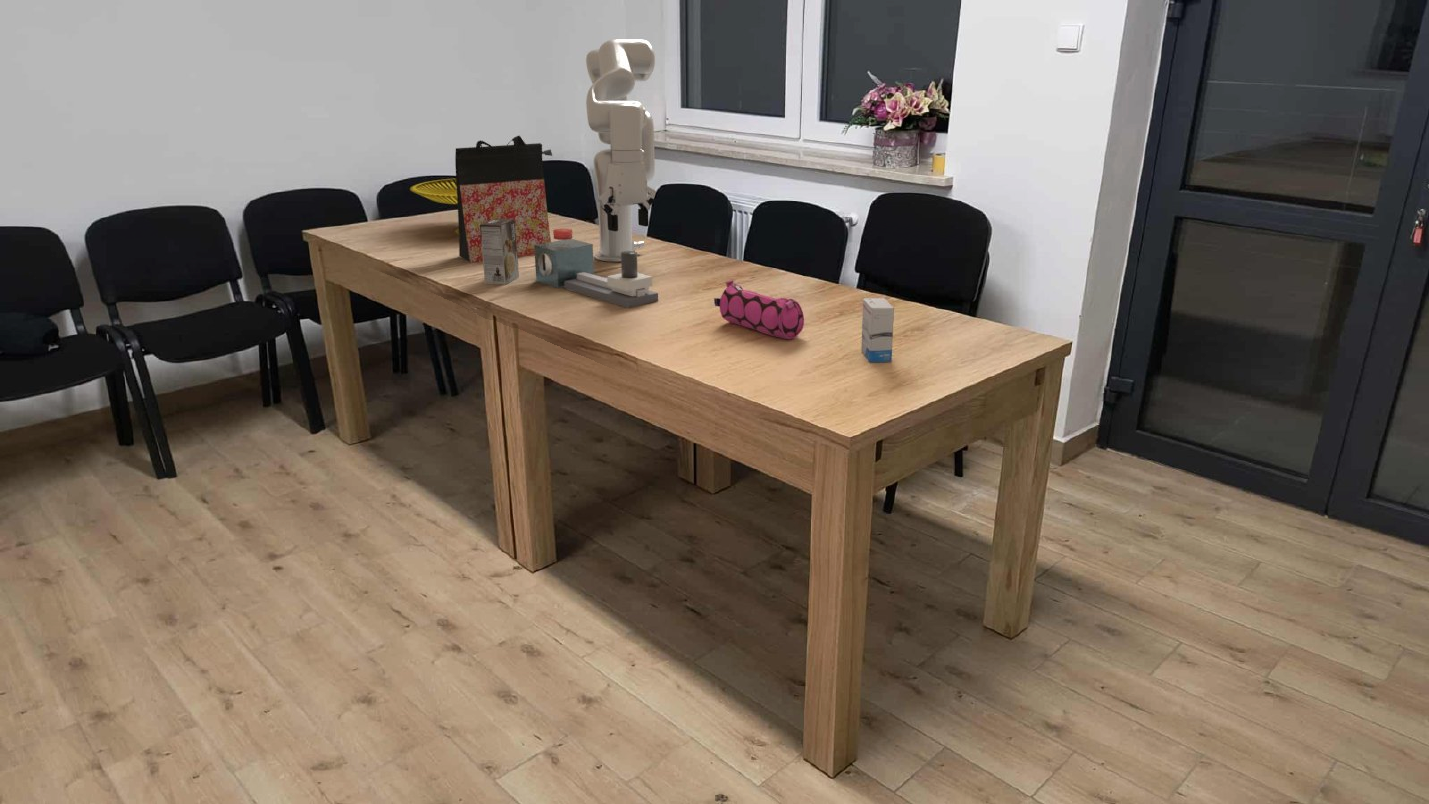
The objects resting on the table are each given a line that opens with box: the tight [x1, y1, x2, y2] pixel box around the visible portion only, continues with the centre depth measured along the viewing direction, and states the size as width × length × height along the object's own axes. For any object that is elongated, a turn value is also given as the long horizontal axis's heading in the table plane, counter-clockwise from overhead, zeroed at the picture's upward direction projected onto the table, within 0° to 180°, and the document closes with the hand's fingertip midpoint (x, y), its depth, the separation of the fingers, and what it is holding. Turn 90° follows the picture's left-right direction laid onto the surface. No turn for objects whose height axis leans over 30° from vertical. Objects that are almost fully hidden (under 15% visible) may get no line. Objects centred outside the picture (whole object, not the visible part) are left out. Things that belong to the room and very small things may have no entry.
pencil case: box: [713, 279, 805, 341], centre depth 223 cm, size 21×10×10 cm, turn 45°
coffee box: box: [480, 219, 520, 285], centre depth 264 cm, size 9×6×16 cm
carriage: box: [606, 251, 653, 296], centre depth 246 cm, size 8×8×10 cm
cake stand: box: [410, 178, 459, 235], centre depth 326 cm, size 40×40×15 cm
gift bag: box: [454, 135, 553, 263], centre depth 290 cm, size 29×14×35 cm, turn 122°
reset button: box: [552, 228, 573, 241], centre depth 262 cm, size 5×5×2 cm
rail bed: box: [564, 272, 659, 309], centre depth 253 cm, size 10×26×4 cm, turn 44°
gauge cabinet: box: [534, 238, 595, 289], centre depth 264 cm, size 13×10×10 cm
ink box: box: [860, 297, 895, 363], centre depth 206 cm, size 9×5×12 cm, turn 5°
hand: (628, 228), depth 241 cm, fingers open, 9 cm apart
